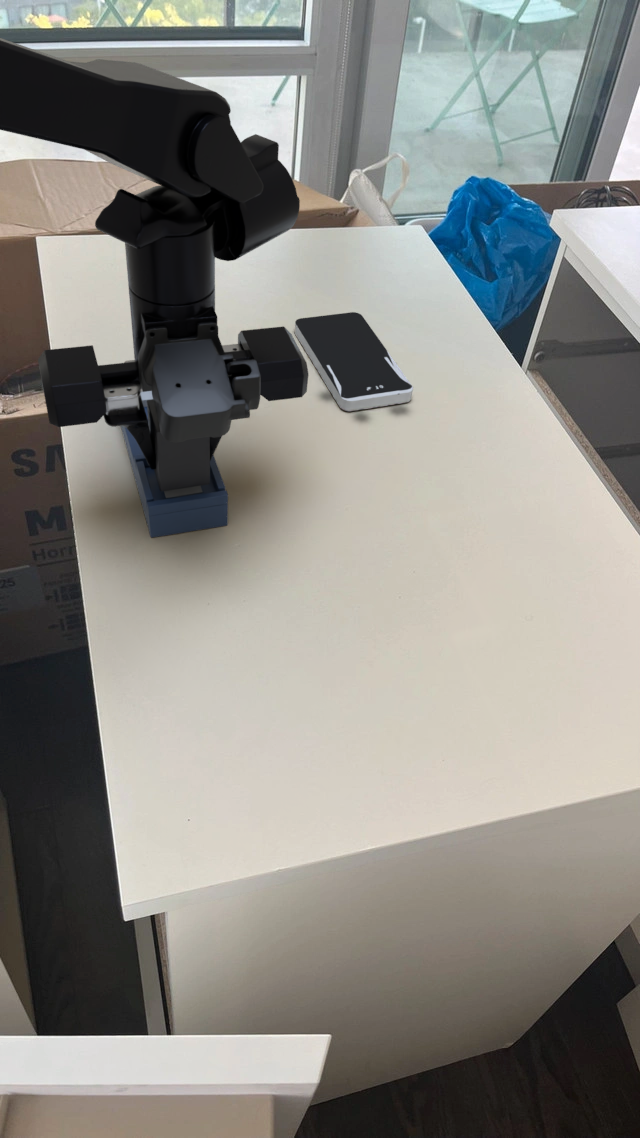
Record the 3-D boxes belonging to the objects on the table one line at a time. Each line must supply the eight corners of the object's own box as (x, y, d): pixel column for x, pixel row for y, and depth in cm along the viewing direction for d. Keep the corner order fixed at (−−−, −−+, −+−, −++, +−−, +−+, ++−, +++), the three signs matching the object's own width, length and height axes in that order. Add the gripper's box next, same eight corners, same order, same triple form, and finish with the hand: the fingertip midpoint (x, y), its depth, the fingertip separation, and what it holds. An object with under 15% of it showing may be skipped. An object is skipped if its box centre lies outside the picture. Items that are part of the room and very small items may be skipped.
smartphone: (359, 311, 93) (416, 391, 83) (357, 322, 94) (413, 402, 84) (293, 319, 90) (344, 402, 81) (292, 330, 91) (342, 413, 82)
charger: (160, 492, 67) (156, 432, 63) (150, 459, 70) (146, 399, 65) (210, 484, 68) (210, 424, 64) (199, 452, 71) (198, 393, 66)
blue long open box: (150, 538, 69) (148, 507, 66) (111, 392, 81) (108, 360, 79) (227, 525, 71) (228, 494, 68) (178, 384, 83) (176, 353, 80)
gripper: (39, 367, 49) (73, 553, 61) (343, 336, 54) (320, 512, 66) (21, 271, 56) (54, 453, 67) (292, 251, 61) (280, 424, 73)
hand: (179, 462), depth 68 cm, fingers closed on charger, 4 cm apart
